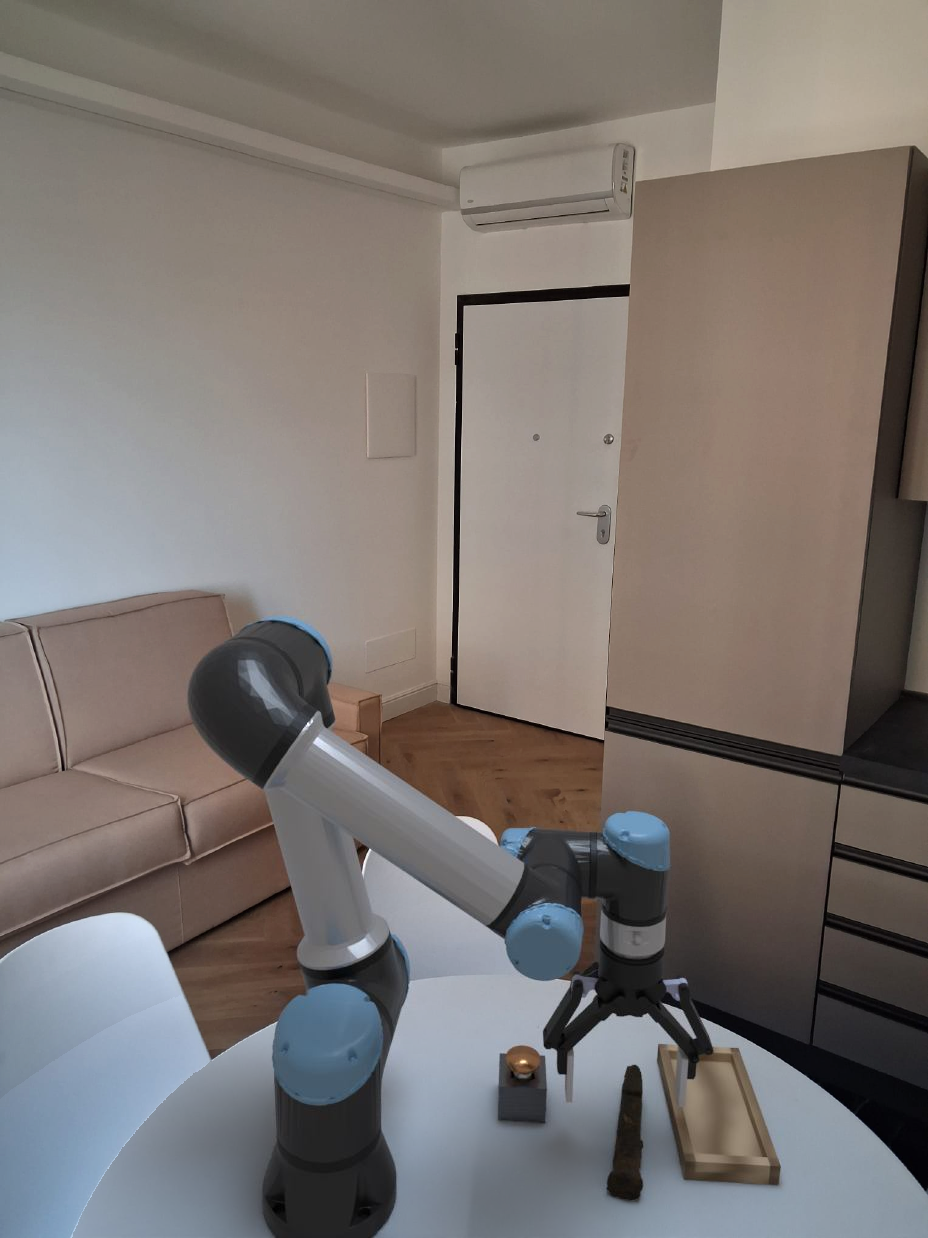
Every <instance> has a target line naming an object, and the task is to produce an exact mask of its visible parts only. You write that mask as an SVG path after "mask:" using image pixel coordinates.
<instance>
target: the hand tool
mask: <svg viewBox="0 0 928 1238" xmlns="http://www.w3.org/2000/svg"><path fill="white" fill-rule="evenodd" d="M643 1093H644V1091H643V1076H642V1071H641V1068H640V1067H639V1066H638V1064H631V1065H627V1066H626V1069H625V1072H624V1075H623V1082H622V1085H621V1097H620V1104H619V1114H618V1119H617V1126H616V1127H617V1129H616V1136H615V1143H614V1144H615V1145H614V1153H613V1158H612V1159H613V1160H612V1170H611V1171H610V1172H609V1174H608V1176H607V1179H606V1180H607V1181H606V1190H607V1192H608V1193H609V1194H610V1196H611V1197H613V1198H619V1199H621V1200H624V1201H625V1200H626V1201H637V1200H639V1199H640V1197H641V1193H642V1191H643V1188H644V1180H643V1178H642V1176H641V1175H642V1174H641V1172H640V1171H641V1163H642V1155H643V1154H642V1150H643V1148H644V1141H643V1140H642V1113H643Z"/></svg>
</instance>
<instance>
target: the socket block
mask: <svg viewBox="0 0 928 1238" xmlns="http://www.w3.org/2000/svg"><path fill="white" fill-rule="evenodd" d="M506 1054H507V1053H502V1052H501V1053H499V1063H498V1064H499V1065H498V1091H497V1092H498V1095H497V1101H498V1102H497V1107H498V1108H497V1121H507V1122H523V1123H524V1122H525V1123H526V1122H527V1123H528V1122H529V1123H543V1124H544V1123H546V1117H547V1115H546V1113H547V1096H548V1086H547V1083H548V1082H547V1066H546V1065H547V1064H546V1062H547V1061H546V1055H544V1054H543V1055H541V1054H539V1055H540V1067H539V1069H538V1070H537V1071H536V1072H534V1073H532V1080H530V1079H513V1072H512V1071H511V1070H510V1069H509V1068H508V1067H507V1065H506Z"/></svg>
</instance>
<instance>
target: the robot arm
mask: <svg viewBox="0 0 928 1238" xmlns="http://www.w3.org/2000/svg"><path fill="white" fill-rule="evenodd" d="M332 657H333V656H332V653H331V650H330V647H329V645H328V643H327V641H326V640H325V638H324V637H323V635H322V634H321V633H320V632H319V631H318V630H317V629H316V628H315V627H314V626H312V625H310V624H309V623H307V622H305V621H303V620H302V619H299V618H297V617H293V616H288V615H275V616H274V615H273V616H269V617H265V618H262V619H260V620H257V621H253V622H250V623H248V624H247V625H245V626H243V627H242V628H240V630H239V631H238V633H236V634H234V635H233V636H231V637H230V638H228V639H227V640H225V641H224V642H222V643H220V644H218V645H216V646H215V647H213V648H212V649H211V650H209V651H208V652H207V653H205V655H204V656H203V657H201V659H200V660H199V661H198V662H197V664H196V665H195V667H194V669H193V671H192V673H191V675H190V676H191V677H190V678H189V681H188V687H187V696H186V697H187V707H188V712H189V716H190V718H191V720H192V723H193V725H194V727H195V730H196V731H197V733H198V734H199V735H200V737H201V739H202V740H203V741H204V743H206V744H207V746H208V747H209V748H210V749H211V750H212V751H213V752H214V753H215V754H216V755H217V756H218V757H219V758H220V759H221V760H222V761H223V762H225V763H226V764H227V765H228V766H229V767H230V768H232V769H233V770H234V771H235V772H236V773H238V774H239V775H241V776H242V777H244V778H245V779H246V780H248V782H251V783H253V785H255V786H257V787H258V788H260V789H261V790H263V792H264V794H265V798H266V802H267V805H268V808H269V812H270V815H271V819H272V822H273V825H274V826H273V827H274V829H275V830H274V831H275V833H276V837H277V841H278V845H279V847H280V850H281V851H280V852H281V855H282V859H283V862H284V865H285V868H286V872H287V876H288V880H289V883H290V886H291V891H292V894H293V898H294V901H295V906H296V908H297V912H298V915H299V920H300V923H301V926H302V929H303V933H304V936H303V938H301V939H302V940H301V941H300V943H299V944H298V946H297V949H296V957H297V960H298V963H299V968H300V972H301V975H302V978H303V979H302V980H303V983H304V986H305V995H301V994H298V995H297V996H296V997H295V996H294V998H293V999H292V1000H290V1001H289V1002H288V1004H286V1006H285V1007H284V1008H283V1010H282V1011H281V1013H280V1015H279V1018H278V1019H277V1021H276V1025H275V1028H274V1029H275V1030H274V1036H273V1042H272V1046H271V1047H272V1054H271V1055H272V1056H271V1060H272V1068H273V1079H274V1080H273V1081H274V1084H273V1085H274V1102H275V1103H274V1104H275V1127H276V1128H275V1130H276V1141H275V1144H274V1147H273V1150H272V1152H271V1155H270V1159H269V1161H268V1164H267V1167H266V1170H265V1172H264V1175H263V1180H262V1189H261V1193H262V1195H261V1196H262V1211H263V1216H264V1220H265V1223H266V1224H267V1226H268V1228H269V1229H270V1231H271V1233H272V1234H273V1235H274V1236H275V1237H276V1238H372V1237H373V1236H375V1234H377V1233H378V1232H379V1231H380V1230H381V1229H382V1227H383V1226H385V1224H386V1223H387V1221H388V1219H389V1218H390V1216H391V1215H392V1212H393V1210H394V1207H395V1203H396V1199H397V1194H398V1193H397V1189H398V1188H397V1180H398V1179H397V1168H396V1164H395V1163H396V1162H395V1161H394V1158H393V1155H392V1153H391V1150H390V1148H389V1146H388V1145H389V1144H388V1143H387V1140H386V1138H385V1135H384V1133H383V1130H382V1083H383V1077H384V1070H385V1067H386V1063H387V1061H388V1056H389V1053H390V1049H391V1046H392V1043H393V1039H394V1036H395V1032H396V1028H397V1025H398V1022H399V1018H400V1017H401V1016H400V1015H401V1012H402V1009H403V1006H404V1004H405V1002H406V999H407V998H408V997H407V996H408V993H409V990H410V981H411V979H410V977H411V976H410V975H411V974H410V973H411V967H410V965H411V964H410V959H409V955H408V951H407V950H406V948H405V946H404V944H403V943H402V941H401V940H400V939H399V937H398V936H397V935H396V934H395V933H393V934H392V933H391V930H390V927H389V924H388V922H387V920H386V919H385V918H384V917H382V916H381V915H379V914H377V913H373V909H372V905H371V902H370V897H369V894H368V890H367V887H366V883H365V878H364V875H363V871H362V868H361V863H360V860H359V855H358V851H357V848H356V844H355V840H356V841H358V842H359V843H361V844H362V845H364V846H365V847H367V848H368V849H370V850H371V851H372V852H374V853H376V854H378V855H379V856H380V857H381V858H383V859H385V860H386V861H388V862H389V863H391V864H392V865H393V866H395V867H397V868H398V869H400V870H402V871H403V872H404V873H406V874H407V875H409V876H410V877H412V878H413V879H415V880H416V881H418V882H419V883H420V884H422V885H424V886H425V887H427V888H428V889H429V890H431V891H433V892H434V893H435V894H436V895H439V896H440V897H441V898H443V899H444V900H446V901H447V902H449V903H450V904H452V905H454V906H455V907H456V908H458V909H459V910H461V911H462V912H464V913H465V914H467V915H468V916H470V917H471V918H472V919H474V920H476V921H478V922H479V923H480V924H482V925H483V926H484V927H486V928H487V929H489V930H490V931H491V932H493V933H494V934H495V935H497V936H499V937H500V938H502V939H503V940H504V944H505V950H506V955H507V958H508V960H509V962H510V963H511V965H512V966H513V967H514V969H515V970H516V971H517V972H518V973H520V974H521V975H522V976H524V977H526V978H528V979H531V980H535V981H538V982H539V981H540V982H549V981H555V980H558V979H560V978H562V977H565V976H566V975H568V974H569V973H570V972H571V971H572V970H573V969H574V968H575V967H576V965H577V963H578V962H579V960H580V956H581V954H582V953H581V952H582V944H583V937H584V932H585V930H584V922H583V907H582V900H583V899H591V900H595V899H600V900H601V909H600V924H599V926H600V928H599V936H600V941H599V948H598V949H599V952H598V953H599V954H598V971H597V973H596V975H595V976H594V977H591V976H583V974H582V972H581V971H579V970H574V971H573V972H572V973H571V977H570V983H569V984H570V985H569V987H568V989H567V991H566V992H565V993H564V995H563V997H562V999H561V1001H559V1004H558V1005H557V1006H556V1008H555V1010H554V1011H553V1013H552V1015H551V1017H550V1018H549V1020H548V1021H547V1023H546V1024H545V1026H544V1027H543V1029H542V1040H543V1041H542V1042H543V1048H544V1049H545V1050H552V1049H553V1050H555V1051H556V1072H557V1074H558V1075H562V1076H565V1077H564V1093H565V1102H566V1103H573V1092H574V1091H573V1090H574V1071H575V1070H574V1068H575V1067H574V1065H575V1064H574V1062H575V1053H574V1047H575V1046H577V1044H579V1043H580V1041H581V1040H583V1039H584V1038H585V1037H586V1036H587V1035H588V1034H589V1033H590V1032H591V1031H592V1030H593V1029H594V1028H595V1027H596V1026H597V1025H599V1023H601V1022H604V1021H605V1022H606V1020H607V1019H609V1018H610V1016H611V1015H613V1014H614V1015H615V1016H616V1017H620V1018H621V1017H628V1016H630V1017H634V1018H643V1016H645V1015H647V1014H648V1015H649V1017H650V1018H651V1019H652V1020H653V1021H654V1022H655V1023H657V1024H659V1025H660V1027H661V1028H662V1029H663V1031H664V1032H666V1034H667V1035H668V1036H669V1037H670V1038H671V1039H672V1040H673V1041H674V1043H675V1045H678V1051H677V1066H676V1081H675V1093H676V1097H677V1101H678V1106H679V1107H685V1101H686V1086H687V1079H694V1078H695V1076H696V1063H698V1062H699V1055H701V1054H704V1053H705V1054H706V1055H711V1054H713V1052H714V1050H713V1047H714V1046H713V1044H712V1041H711V1038H710V1035H709V1033H708V1031H707V1028H706V1027H705V1026H704V1023H703V1021H702V1019H701V1016H700V1015H699V1012H698V1010H697V1009H696V1006H695V1004H694V1002H693V1001H692V999H691V991H690V987H689V984H688V981H687V978H686V975H684V974H682V973H680V974H679V973H678V974H677V975H676V977H675V979H664V965H665V963H664V961H665V947H664V946H665V943H666V925H667V924H666V923H667V909H668V908H667V907H668V897H669V896H668V893H669V884H670V883H669V882H670V881H669V880H670V870H671V869H670V868H671V865H672V864H671V833H670V829H669V828H668V826H667V825H666V823H665V822H664V821H663V820H662V819H660V818H658V817H657V816H655V815H653V814H650V813H647V812H643V811H635V810H629V811H628V810H627V811H625V812H624V813H623V812H616V813H614V814H612V815H610V816H609V817H607V819H606V821H605V824H604V827H603V829H602V831H599V830H598V831H597V830H596V831H585V830H584V831H583V830H567V829H557V828H556V829H554V828H541V827H540V828H539V827H538V826H532V827H520V828H519V827H512V828H511V827H510V828H507V829H506V830H504V831H503V833H502V835H501V838H500V845H498V844H497V843H495V841H493V840H491V839H490V838H488V837H487V836H485V835H483V833H481V832H479V831H478V830H476V829H475V828H474V827H472V826H471V825H469V824H468V823H466V822H464V821H463V820H462V819H460V818H459V817H457V816H456V815H454V814H453V813H451V812H450V811H448V810H447V809H445V807H442V805H439V804H438V803H437V802H435V800H432V799H431V798H429V797H428V796H427V795H425V794H424V793H422V792H421V791H419V790H418V789H416V788H415V787H414V786H412V785H410V784H409V783H407V782H406V781H404V780H403V779H401V778H400V777H398V776H397V775H396V774H394V773H393V772H391V771H390V770H388V769H387V768H385V767H384V766H382V765H381V764H379V763H378V762H377V761H375V760H373V758H370V756H368V755H366V754H364V752H362V751H360V750H359V749H358V748H356V747H354V746H353V745H351V744H350V743H349V742H348V741H345V740H344V739H343V738H341V737H340V736H339V735H337V734H335V733H334V732H333V731H332V730H333V728H334V727H335V725H336V721H337V720H336V719H337V718H336V716H335V713H334V708H333V704H332V701H331V700H332V699H331V696H330V693H329V688H328V685H329V684H330V682H331V678H332V673H333V658H332ZM354 839H355V840H354ZM592 990H593V991H594V992H595V993H596V995H595V996H594V997H593V999H592V1001H591V1002H590V1003H589V1004H588V1005H587V1006H586V1007H585V1008H584V1009H582V1011H581V1012H580V1013H579V1014H578V1015H576V1017H574V1018H573V1019H572V1017H573V1016H574V1014H575V1013H576V1012H577V1009H578V1007H579V1006H580V1004H581V1001H582V998H583V999H584V998H586V997H587V995H588V994H589V992H590V991H592ZM667 993H669V994H670V995H671V996H672V998H673V999H674V1000H675V1001H677V1002H679V1003H680V1004H679V1005H680V1007H681V1010H682V1012H683V1014H684V1016H685V1018H686V1020H687V1021H688V1024H689V1025H690V1027H691V1030H692V1032H693V1033H694V1036H695V1038H693V1037H692V1035H690V1034H689V1032H688V1031H687V1030H686V1029H685V1028H684V1027H683V1026H682V1024H680V1022H679V1021H678V1020H677V1019H676V1018H675V1016H674V1015H673V1014H672V1013H671V1012H670V1011H669V1010H668V1009H667V1007H666V1006H665V1005H664V1004H663V1002H662V1001H661V1000H662V999H663V998H664V997H665V996H666V994H667ZM571 1019H572V1020H571Z"/></svg>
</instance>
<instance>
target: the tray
mask: <svg viewBox="0 0 928 1238" xmlns="http://www.w3.org/2000/svg"><path fill="white" fill-rule="evenodd" d="M712 1047H713V1050H714V1052H713V1054H711V1055H706V1054H705V1053H704V1054H701V1055H699V1062H698V1063H696V1076H695V1078H694V1079H687V1086H686V1101H685V1107H679V1106H678V1101H677V1097H676V1093H675V1081H676V1066H677V1051H678V1045H677V1044H670V1043H669V1044H667V1043H658V1044H657V1054H656V1055H657V1056H656V1061H657V1066H658V1070H659V1074H660V1075H659V1077H660V1078H661V1083H662V1089H663V1093H664V1097H665V1102H666V1106H667V1110H668V1115H669V1119H670V1123H671V1129H672V1133H673V1137H674V1141H675V1145H676V1150H677V1156H678V1159H679V1164H680V1168H681V1172H682V1176H683V1180H685V1181H686V1180H687V1181H688V1180H689V1181H690V1180H691V1181H703V1182H704V1181H707V1182H719V1183H720V1182H724V1183H739V1184H740V1183H742V1184H755V1185H772V1186H773V1185H774V1186H775V1185H776V1186H779V1185H780V1176H781V1170H782V1169H781V1168H782V1166H781V1163H780V1159H779V1158H778V1155H777V1152H776V1149H775V1146H774V1143H773V1141H772V1138H771V1135H770V1133H769V1130H768V1126H767V1123H766V1120H765V1118H764V1116H763V1113H762V1109H761V1107H760V1104H759V1102H758V1099H757V1096H756V1092H755V1091H754V1088H753V1084H752V1081H751V1078H750V1076H749V1073H748V1071H747V1068H746V1065H745V1062H744V1059H743V1056H742V1053H741V1051H740V1047H726V1046H712Z"/></svg>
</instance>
